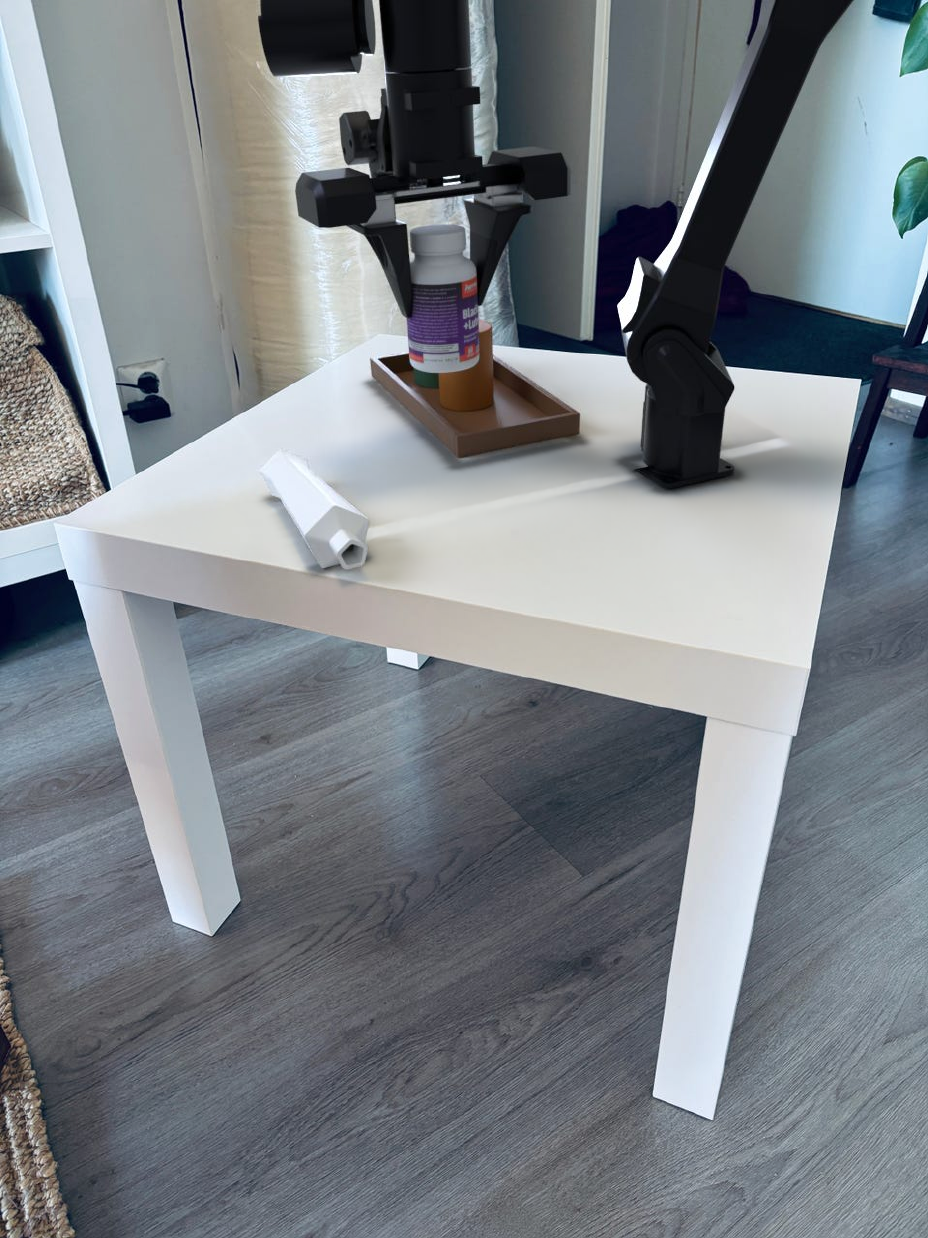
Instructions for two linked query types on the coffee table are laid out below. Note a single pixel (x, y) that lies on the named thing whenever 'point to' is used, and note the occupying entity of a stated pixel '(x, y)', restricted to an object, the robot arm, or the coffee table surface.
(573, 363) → the coffee table surface
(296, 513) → the perfume bottle
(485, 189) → the robot arm
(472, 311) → the pill bottle
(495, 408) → the tray
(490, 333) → the amber bottle
